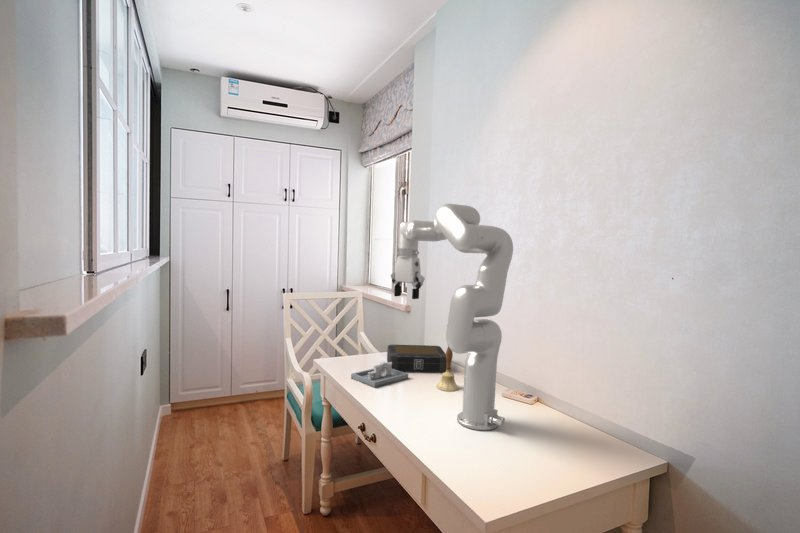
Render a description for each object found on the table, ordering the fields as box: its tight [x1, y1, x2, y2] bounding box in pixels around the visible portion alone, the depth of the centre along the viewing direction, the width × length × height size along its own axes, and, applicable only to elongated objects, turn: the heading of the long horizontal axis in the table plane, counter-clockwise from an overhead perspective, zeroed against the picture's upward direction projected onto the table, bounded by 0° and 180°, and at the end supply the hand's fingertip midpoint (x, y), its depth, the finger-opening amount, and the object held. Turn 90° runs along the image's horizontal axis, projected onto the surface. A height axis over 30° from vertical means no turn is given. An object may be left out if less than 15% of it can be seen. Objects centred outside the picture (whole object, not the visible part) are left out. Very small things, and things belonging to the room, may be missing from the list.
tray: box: [350, 367, 409, 389], centre depth 166 cm, size 14×18×2 cm
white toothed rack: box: [368, 361, 392, 380], centre depth 166 cm, size 12×2×6 cm, turn 135°
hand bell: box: [436, 346, 459, 392], centre depth 159 cm, size 8×8×16 cm
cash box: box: [386, 344, 447, 374], centre depth 186 cm, size 25×20×8 cm
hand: (406, 297), depth 163 cm, fingers open, 9 cm apart
